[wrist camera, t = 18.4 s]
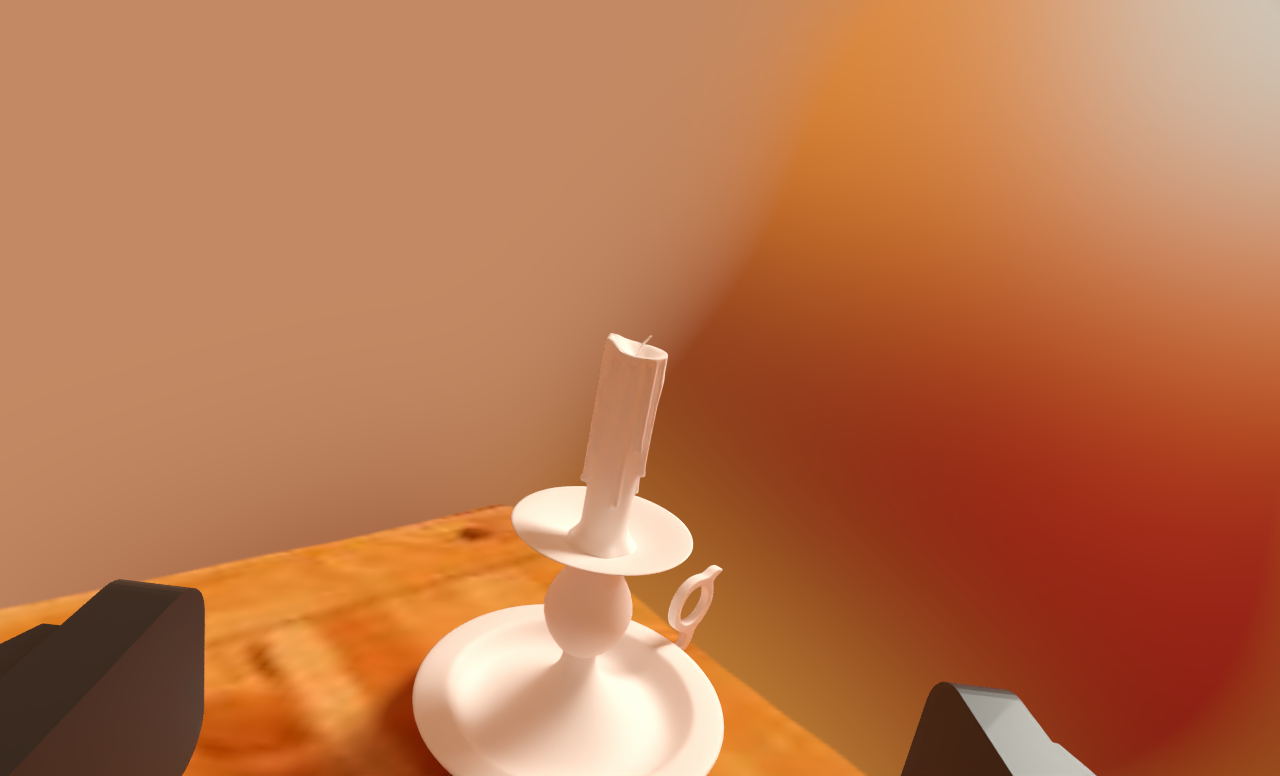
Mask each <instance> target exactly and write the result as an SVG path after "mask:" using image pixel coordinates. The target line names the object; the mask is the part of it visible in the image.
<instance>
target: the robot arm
mask: <svg viewBox="0 0 1280 776" xmlns="http://www.w3.org/2000/svg"><path fill="white" fill-rule="evenodd" d="M204 634H205V608H204V600H203V596H202V594H201V592H200V591H199V590H197V589H195V588H187V587H179V586H171V585H162V584H154V583H146V582H138V581H129V580H121V579H119V580H116V581H113V582H111V583H109V584H108V585H106V586H105V587H104V588H103V589H101V590H100V591H99V592H98V593H97V594H96V595H95V596H93V597H92V598H91V599H90V600H89V601H88V602H87V603H86V604H84V605H83V606H82V607H81V608H80V609H79V610H78V611H76V612H75V613H74V614H73V615H72V616H71V617H70V618H68V619H67V620H66V621H65V622H64V623H63V624H62V625H52V624H40V625H38V626H36V627H34V628H32V629H30V630H28V631H26V632H24V633H22V634H20V635H18V636H16V637H14V638H12V639H10V640H8V641H5V642H3V643H1V644H0V776H182V775H183V773H184V771H185V769H186V768H187V766H188V764H189V762H190V759H191V757H192V755H193V752H194V750H195V747H196V744H197V741H198V738H199V734H200V731H201V726H202V721H203V714H204ZM901 776H1096V775H1095V774H1094V773H1092V772H1091V771H1090V770H1089V769H1088V768H1087V767H1085V766H1084V765H1083V764H1082V763H1081V762H1079V761H1078V760H1077V759H1076V758H1075V757H1073V756H1072V755H1071V754H1070V753H1069V752H1067V751H1066V750H1065V749H1064V748H1063V747H1061V746H1060V745H1059V744H1058V743H1052V741H1051V740H1050V739H1049V738H1048V736H1047V735H1046V734H1045V732H1044V731H1043V729H1042V728H1041V727H1040V725H1039V724H1038V723H1037V722H1036V720H1035V719H1034V718H1033V716H1032V715H1031V714H1030V712H1029V711H1028V710H1027V708H1026V707H1025V706H1024V704H1023V703H1022V701H1021V700H1020V699H1019V698H1018V697H1017V696H1016V695H1015V694H1014V693H1012V692H1011V691H1009V690H1005V689H998V688H989V687H981V686H973V685H964V684H957V683H948V682H941V683H939V684H937V685H935V686H934V687H933V689H932V690H931V692H930V693H929V696H928V698H927V701H926V704H925V707H924V709H923V712H922V715H921V718H920V721H919V724H918V727H917V730H916V733H915V736H914V739H913V742H912V745H911V747H910V750H909V753H908V756H907V759H906V762H905V765H904V768H903V771H902V774H901Z"/></svg>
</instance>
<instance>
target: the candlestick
mask: <svg viewBox="0 0 1280 776" xmlns="http://www.w3.org/2000/svg"><path fill="white" fill-rule="evenodd" d="M651 337H652V336H649V337H648V338H647V339H646V340H645V341H644V342H643V343H639V342H635V341H632V340H629V339H626V338H623V337H621V336H620V335H618V334H613V333H612V334H610V335H609V336H608V337H607V339H606V344H605V349H604V355H603V360H602V366H601V372H600V377H599V383H598V390H597V395H596V400H595V407H594V412H593V418H592V424H591V429H590V435H589V441H588V447H587V452H586V458H585V464H584V469H583V472H582V474H581V477H580V480H582V481H584V482H586V483H587V487H584V486H569V487H557V488H550V489H546V490H542V491H539V492H536V493H533V494H531V495H529V496H527V497H525V498H524V499H522V500H521V501H520V502H519V503H518V504H517V505H516V506H515V508H514V509H513V512H512V516H511V521H512V525H513V528H514V530H515V532H516V533H517V535H518V536H519V537H520V538H521V539H522V540H523V541H524V542H525V543H526V544H527V545H528V546H530V547H531V548H532V549H534V550H535V551H537V552H539V553H540V554H542V555H544V556H546V557H548V558H550V559H552V560H554V561H556V562H559V563H561V564H564V565H567V566H566V567H565V568H564V569H563V570H562V571H561V572H560V573H559V574H558V575H557V576H556V577H555V579H554V580H553V582H552V583H551V585H550V586H549V588H548V591H547V593H546V596H545V599H544V604H539V605H526V606H518V607H512V608H507V609H502V610H498V611H495V612H491V613H488V614H485V615H482V616H480V617H477V618H475V619H472V620H470V621H468V622H466V623H464V624H462V625H461V626H459V627H457V628H456V629H454V630H452V631H451V632H450V633H448V634H447V635H446V636H444V637H443V638H442V639H441V640H440V641H439V642H438V643H437V644H436V645H435V646H434V647H433V648H432V649H431V650H430V651H429V653H428V654H427V655H426V657H425V658H424V660H423V662H422V664H421V665H420V667H419V670H418V672H417V675H416V678H415V682H414V686H413V695H412V703H413V712H414V717H415V721H416V724H417V727H418V730H419V732H420V735H421V737H422V738H423V740H424V742H425V744H426V746H427V747H428V749H429V750H430V752H431V753H432V754H433V756H434V757H435V758H436V759H437V760H438V762H439V763H440V764H441V765H442V766H443V767H444V768H445V769H446V770H447V771H448V772H449V773H450V774H451V775H453V776H706V775H707V774H708V773H709V771H710V770H711V768H712V767H713V765H714V763H715V761H716V759H717V757H718V755H719V752H720V749H721V746H722V741H723V734H724V721H723V713H722V709H721V705H720V702H719V699H718V696H717V694H716V692H715V690H714V688H713V686H712V684H711V683H710V681H709V679H708V678H707V676H706V675H705V674H704V672H703V671H702V670H701V669H700V667H699V666H698V665H697V664H696V663H695V662H694V661H693V660H692V659H691V658H690V657H689V656H688V655H687V654H686V653H685V652H684V651H683V650H685V648H686V647H687V646H688V644H689V643H690V640H691V638H692V635H693V632H694V630H695V628H696V626H697V625H698V624H699V622H700V621H701V620H702V618H703V617H704V615H705V613H706V612H707V610H708V608H709V606H710V603H711V601H712V596H713V581H714V579H715V578H716V577H717V575H718V574H719V573H721V572H722V569H721V568H720V567H718V566H716V565H712V566H710V567H709V568H707V569H706V570H705V571H704V572H703V573H701V574H697V575H694V576H692V577H690V578H689V579H687V580H686V581H685V582H684V583H683V584H682V585H681V586H680V588H679V589H678V590H677V592H676V594H675V595H674V597H673V599H672V602H671V604H670V608H669V614H668V621H669V624H670V625H671V626H672V627H673V628H675V629H676V630H677V631H679V632H680V633H679V637H678V639H677V641H676V642H675V643H674V644H673V643H672V642H671V641H669V640H668V639H666V638H665V637H663V636H662V635H660V634H658V633H656V632H655V631H653V630H651V629H649V628H647V627H645V626H643V625H641V624H639V623H637V622H634V621H632V620H631V617H632V599H631V595H630V591H629V588H628V585H627V583H626V581H625V578H624V576H636V575H648V574H654V573H659V572H663V571H666V570H669V569H672V568H674V567H676V566H678V565H679V564H681V563H682V562H684V561H685V560H686V559H687V558H688V557H689V555H690V554H691V551H692V548H693V540H692V536H691V534H690V532H689V530H688V529H687V527H686V526H685V525H684V524H683V522H681V521H680V520H679V519H678V518H677V517H676V516H674V515H673V514H672V513H670V512H669V511H667V510H666V509H664V508H662V507H660V506H659V505H657V504H654V503H652V502H650V501H648V500H645V499H642V498H640V497H637V496H634V495H635V494H637V493H638V491H639V481H640V477H645V466H646V460H647V455H648V450H649V445H650V440H651V435H652V430H653V425H654V419H655V415H656V409H657V405H658V402H659V398H660V395H661V391H662V387H663V383H664V375H665V369H666V363H667V358H668V354H667V353H666V352H665V351H663V350H661V349H659V348H656V347H653V346H650V345H646V344H645V343H646V342H647V341H648V340H649V339H650V338H651ZM700 586H701V587H702V593H701V597H700V600H699V602H698V604H697V606H696V608H695V609H694V610H693V612H692V613H691V614H690V615H689V616H688V617H687V618H685V619H683V620H681V619H680V614H681V610H682V607H683V605H684V603H685V601H686V599H687V598H688V596H689V595H690V593H691V592H692V591H693V590H695V589H696V588H698V587H700Z"/></svg>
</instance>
